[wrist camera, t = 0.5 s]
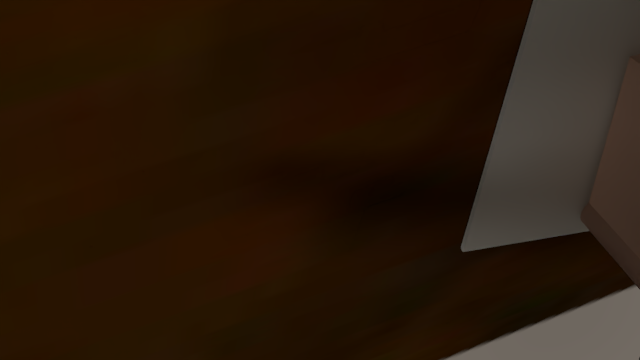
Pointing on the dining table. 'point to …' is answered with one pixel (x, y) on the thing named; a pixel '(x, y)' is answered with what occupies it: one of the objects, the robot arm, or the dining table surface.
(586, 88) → the card
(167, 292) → the dining table surface
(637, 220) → the gate panel
